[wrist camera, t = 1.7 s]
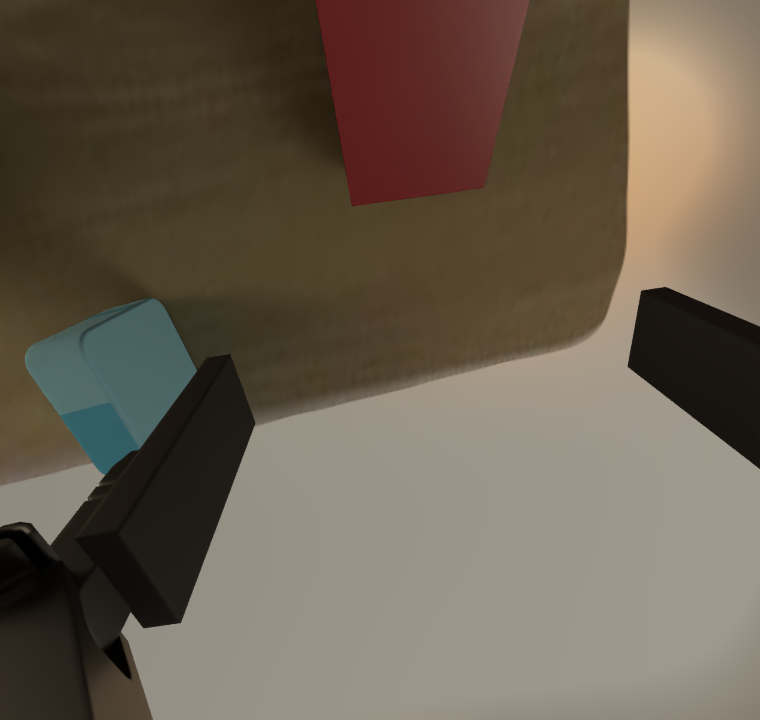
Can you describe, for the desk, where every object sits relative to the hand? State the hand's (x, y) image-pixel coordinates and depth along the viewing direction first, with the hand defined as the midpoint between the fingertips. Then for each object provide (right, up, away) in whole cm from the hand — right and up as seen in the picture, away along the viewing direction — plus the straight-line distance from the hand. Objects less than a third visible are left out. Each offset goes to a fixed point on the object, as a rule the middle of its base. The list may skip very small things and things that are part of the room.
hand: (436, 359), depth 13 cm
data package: (-24, +1, +27) cm, 36 cm away
